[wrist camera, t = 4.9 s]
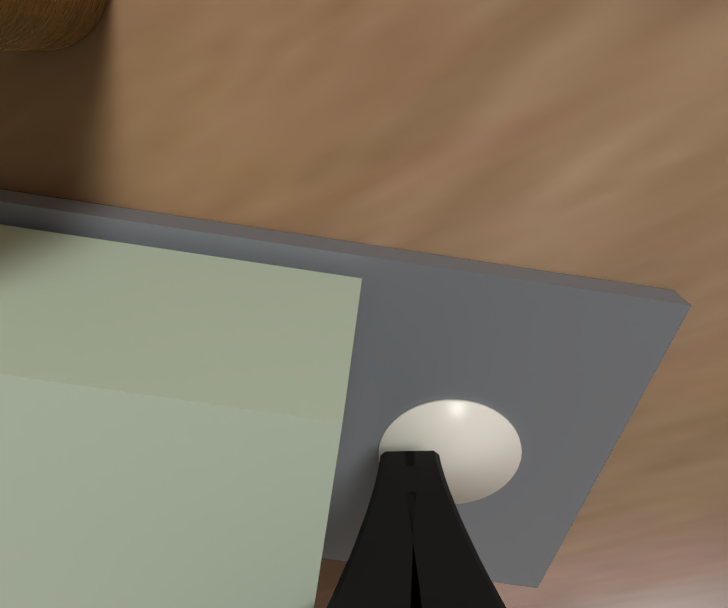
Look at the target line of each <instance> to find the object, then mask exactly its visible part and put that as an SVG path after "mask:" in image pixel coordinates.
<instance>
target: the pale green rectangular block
mask: <svg viewBox="0 0 728 608" xmlns="http://www.w3.org/2000/svg"><path fill="white" fill-rule="evenodd" d="M361 282H362V278H356V277H349V276H343V275H336V274H329V273H323V272H316V271H309V270H303V269H296V268H289V267H282V266H276V265H269V264H262V263H256V262H249V261H242V260H235V259H229V258H222V257H215V256H209V255H202V254H195V253H188V252H182V251H175V250H168V249H162V248H155V247H148V246H141V245H135V244H128V243H121V242H115V241H108V240H101V239H95V238H88V237H81V236H74V235H68V234H61V233H54V232H48V231H41V230H34V229H27V228H21V227H14V226H7V225H1V224H0V608H314V604H315V598H316V591H317V585H318V578H319V572H320V565H321V559H322V552H323V546H324V539H325V533H326V526H327V520H328V513H329V507H330V501H331V494H332V488H333V481H334V475H335V468H336V462H337V455H338V449H339V442H340V436H341V429H342V423H343V416H344V408H345V401H346V393H347V386H348V379H349V371H350V364H351V356H352V349H353V342H354V334H355V327H356V319H357V312H358V305H359V297H360V290H361Z"/></svg>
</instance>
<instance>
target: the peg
mask: <svg viewBox="0 0 728 608" xmlns="http://www.w3.org/2000/svg"><path fill="white" fill-rule="evenodd" d="M107 2H108V0H0V51H49V50H58V49H62V48H66V47H68V46H71V45H73V44H75V43H77V42H78V41H80V40H81V39H83V38H84V37H85V36H87V35H88V34H89V33H90V32H91V31H92V30H93V28H94V27H95V26H96V24H97V23H98V22H99V20H100V18H101V16H102V14H103V12H104V10H105V8H106V5H107Z"/></svg>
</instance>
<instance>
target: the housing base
mask: <svg viewBox="0 0 728 608" xmlns="http://www.w3.org/2000/svg"><path fill="white" fill-rule="evenodd" d="M0 224H1V225H7V226H14V227H21V228H27V229H34V230H41V231H48V232H54V233H61V234H68V235H74V236H81V237H88V238H95V239H101V240H108V241H115V242H121V243H128V244H135V245H141V246H148V247H155V248H162V249H168V250H175V251H182V252H188V253H195V254H202V255H209V256H215V257H222V258H229V259H235V260H242V261H249V262H256V263H262V264H269V265H276V266H282V267H289V268H296V269H303V270H309V271H316V272H323V273H329V274H336V275H343V276H349V277H356V278H362V282H361V290H360V297H359V305H358V312H357V319H356V327H355V334H354V342H353V349H352V356H351V364H350V371H349V379H348V386H347V393H346V401H345V408H344V416H343V423H342V429H341V436H340V442H339V449H338V455H337V462H336V468H335V475H334V481H333V488H332V494H331V501H330V507H329V513H328V520H327V526H326V533H325V539H324V546H323V552H322V558H323V559H331V560H338V561H345V562H347V561H348V559H349V557H350V554H351V552H352V549H353V547H354V544H355V541H356V539H357V536H358V533H359V530H360V528H361V525H362V522H363V519H364V517H365V514H366V511H367V508H368V505H369V502H370V498H371V495H372V492H373V488H374V485H375V481H376V477H377V472H378V468H379V462H380V455H382V454H383V453H384V452H385V451H435V452H436V453H438V454H439V456H440V461H441V465H442V468H443V472H444V475H445V478H446V481H447V484H448V487H449V490H450V492H451V495H452V497H453V500H454V502H455V505H456V507H457V510H458V512H459V515H460V517H461V519H462V521H463V524H464V526H465V528H466V530H467V532H468V534H469V536H470V539H471V541H472V543H473V545H474V547H475V549H476V551H477V553H478V555H479V558H480V560H481V562H482V563H483V565H484V567H485V569H486V571H487V573H488V575H489V577H490V579H491V581H492V582H498V583H505V584H512V585H519V586H527V587H534V588H538V586H539V584H540V582H541V580H542V579H543V577H544V575H545V573H546V571H547V569H548V568H549V566H550V564H551V562H552V560H553V558H554V557H555V555H556V553H557V551H558V549H559V547H560V545H561V544H562V542H563V540H564V538H565V536H566V534H567V533H568V531H569V529H570V527H571V525H572V523H573V522H574V520H575V518H576V516H577V514H578V512H579V511H580V509H581V507H582V505H583V503H584V501H585V500H586V498H587V496H588V494H589V492H590V490H591V489H592V487H593V485H594V483H595V481H596V479H597V478H598V476H599V474H600V472H601V470H602V468H603V467H604V465H605V463H606V461H607V459H608V457H609V456H610V454H611V452H612V450H613V448H614V446H615V445H616V443H617V441H618V439H619V437H620V435H621V434H622V432H623V430H624V428H625V426H626V424H627V423H628V421H629V419H630V417H631V415H632V413H633V412H634V410H635V408H636V406H637V404H638V402H639V400H640V399H641V397H642V395H643V393H644V391H645V389H646V388H647V386H648V384H649V382H650V380H651V378H652V377H653V375H654V373H655V371H656V369H657V367H658V366H659V364H660V362H661V360H662V358H663V356H664V355H665V353H666V351H667V349H668V347H669V345H670V344H671V342H672V340H673V338H674V336H675V334H676V333H677V331H678V329H679V327H680V325H681V323H682V322H683V320H684V318H685V316H686V314H687V312H688V311H689V309H690V307H691V305H690V304H689V303H688V302H687V301H686V300H684V299H683V298H682V297H681V296H680V295H679V294H677V293H676V292H675V291H673V290H667V289H660V288H653V287H647V286H640V285H633V284H627V283H620V282H613V281H607V280H600V279H594V278H587V277H580V276H574V275H567V274H560V273H554V272H547V271H540V270H534V269H527V268H520V267H514V266H507V265H500V264H494V263H487V262H480V261H474V260H467V259H461V258H454V257H447V256H441V255H434V254H427V253H421V252H414V251H407V250H401V249H394V248H387V247H381V246H374V245H367V244H361V243H354V242H348V241H341V240H334V239H328V238H321V237H314V236H308V235H301V234H294V233H288V232H281V231H274V230H268V229H261V228H254V227H248V226H241V225H235V224H228V223H221V222H215V221H208V220H201V219H195V218H188V217H181V216H175V215H168V214H161V213H155V212H148V211H141V210H135V209H128V208H121V207H115V206H108V205H102V204H95V203H88V202H82V201H75V200H68V199H62V198H55V197H48V196H42V195H35V194H28V193H22V192H15V191H8V190H2V189H0Z"/></svg>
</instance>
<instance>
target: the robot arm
mask: <svg viewBox="0 0 728 608" xmlns="http://www.w3.org/2000/svg"><path fill="white" fill-rule="evenodd" d="M327 608H506V607H505V605H504V603H503V601H502V599H501V597H500V596H499V594H498V592H497V590H496V588H495V586H494V585H493V583H492V581H491V579H490V577H489V575H488V573H487V571H486V569H485V567H484V565H483V563H482V562H481V560H480V558H479V555H478V553H477V551H476V549H475V547H474V545H473V543H472V541H471V539H470V536H469V534H468V532H467V530H466V528H465V526H464V524H463V521H462V519H461V517H460V515H459V512H458V510H457V507H456V505H455V502H454V500H453V497H452V495H451V492H450V490H449V487H448V484H447V481H446V478H445V475H444V472H443V468H442V465H441V461H440V456H439V454H438V453H436V452H435V451H385V452H384V453H383V454H382V455H380V462H379V468H378V472H377V477H376V481H375V485H374V488H373V492H372V495H371V498H370V502H369V505H368V508H367V511H366V514H365V517H364V519H363V522H362V525H361V528H360V530H359V533H358V536H357V539H356V541H355V544H354V547H353V549H352V552H351V554H350V557H349V559H348V561H347V564H346V566H345V568H344V570H343V573H342V575H341V577H340V580H339V582H338V584H337V586H336V589H335V591H334V593H333V596H332V598H331V600H330V602H329V604H328V606H327Z"/></svg>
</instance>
